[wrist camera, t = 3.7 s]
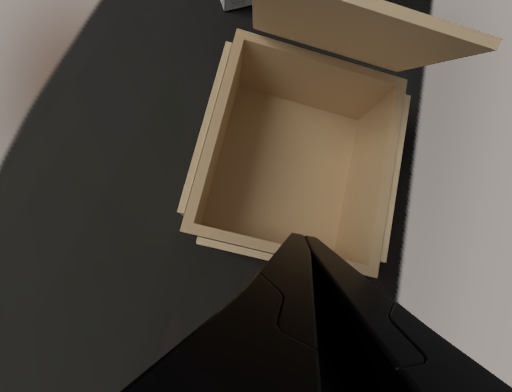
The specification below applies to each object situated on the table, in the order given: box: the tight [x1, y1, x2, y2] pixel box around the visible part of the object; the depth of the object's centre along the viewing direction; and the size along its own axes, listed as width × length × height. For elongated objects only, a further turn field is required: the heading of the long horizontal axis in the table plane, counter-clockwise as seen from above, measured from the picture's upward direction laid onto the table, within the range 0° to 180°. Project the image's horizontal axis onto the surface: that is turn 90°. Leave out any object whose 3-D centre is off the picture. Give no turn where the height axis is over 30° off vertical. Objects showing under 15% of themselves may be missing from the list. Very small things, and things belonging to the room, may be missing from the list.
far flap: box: [252, 0, 502, 72], centre depth 14 cm, size 8×10×1 cm
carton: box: [177, 29, 411, 278], centre depth 20 cm, size 13×12×6 cm
